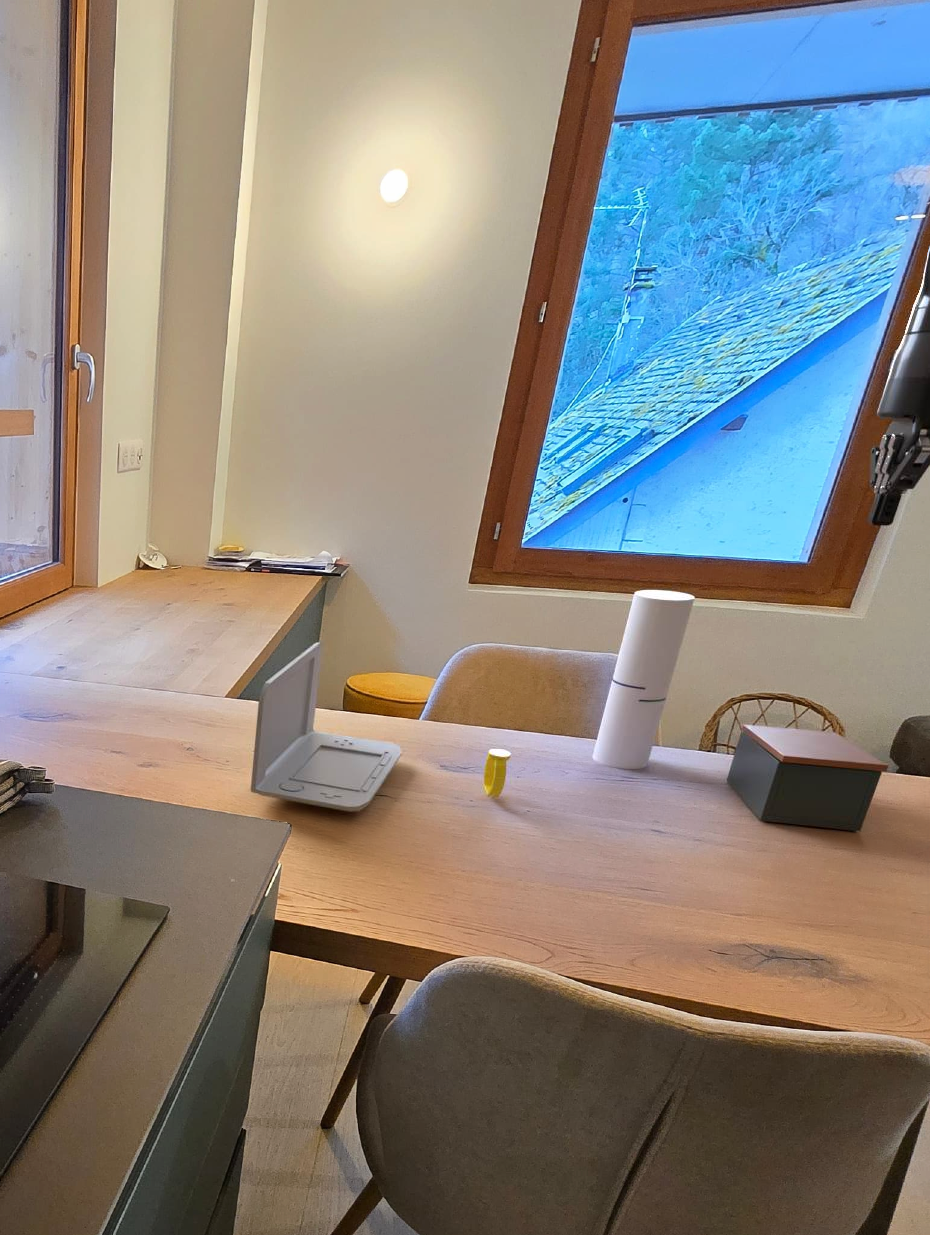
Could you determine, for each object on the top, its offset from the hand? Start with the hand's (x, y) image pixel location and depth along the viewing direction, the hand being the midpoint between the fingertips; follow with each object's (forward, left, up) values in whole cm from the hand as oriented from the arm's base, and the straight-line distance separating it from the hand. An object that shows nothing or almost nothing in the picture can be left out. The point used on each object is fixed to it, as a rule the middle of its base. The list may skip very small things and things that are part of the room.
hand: (878, 524), depth 123 cm
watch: (+41, +21, -35) cm, 58 cm away
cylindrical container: (+22, 0, -35) cm, 41 cm away
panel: (+4, +12, -27) cm, 30 cm away
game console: (+62, +22, -34) cm, 74 cm away
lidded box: (+4, +12, -35) cm, 37 cm away
